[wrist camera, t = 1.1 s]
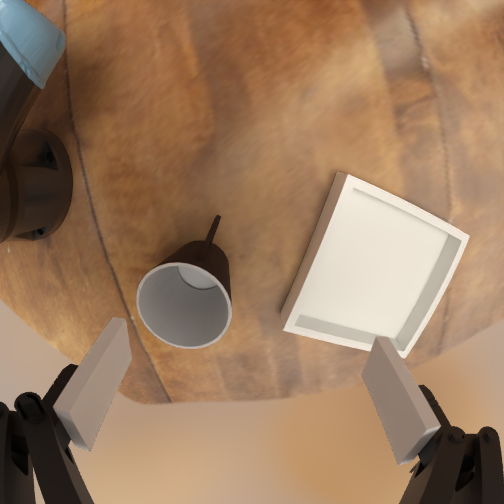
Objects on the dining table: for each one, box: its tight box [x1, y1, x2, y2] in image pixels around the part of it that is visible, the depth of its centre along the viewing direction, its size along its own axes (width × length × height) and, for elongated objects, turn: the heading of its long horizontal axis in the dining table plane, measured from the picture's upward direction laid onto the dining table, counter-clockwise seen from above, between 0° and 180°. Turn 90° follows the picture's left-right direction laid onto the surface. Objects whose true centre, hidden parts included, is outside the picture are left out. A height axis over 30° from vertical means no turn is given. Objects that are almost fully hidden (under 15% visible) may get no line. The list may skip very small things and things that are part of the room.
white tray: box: [280, 172, 470, 358], centre depth 32 cm, size 18×18×4 cm
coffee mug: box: [136, 215, 232, 349], centre depth 29 cm, size 12×9×10 cm
